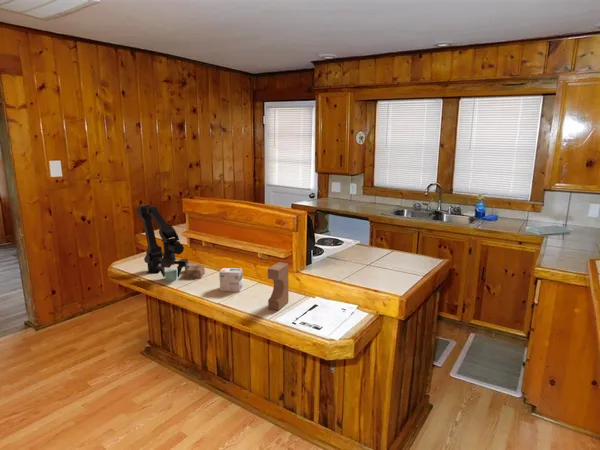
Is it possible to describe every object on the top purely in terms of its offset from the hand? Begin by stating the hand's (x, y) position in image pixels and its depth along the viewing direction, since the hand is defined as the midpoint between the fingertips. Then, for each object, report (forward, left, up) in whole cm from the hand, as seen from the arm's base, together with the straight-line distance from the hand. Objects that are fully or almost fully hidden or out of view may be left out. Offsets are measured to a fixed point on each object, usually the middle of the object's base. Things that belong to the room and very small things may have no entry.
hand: (171, 277), depth 223 cm
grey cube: (+7, +12, -1) cm, 14 cm away
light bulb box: (+36, -13, -2) cm, 38 cm away
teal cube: (0, 0, -1) cm, 1 cm away
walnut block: (+12, +6, -2) cm, 14 cm away
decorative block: (+62, -32, -1) cm, 70 cm away
